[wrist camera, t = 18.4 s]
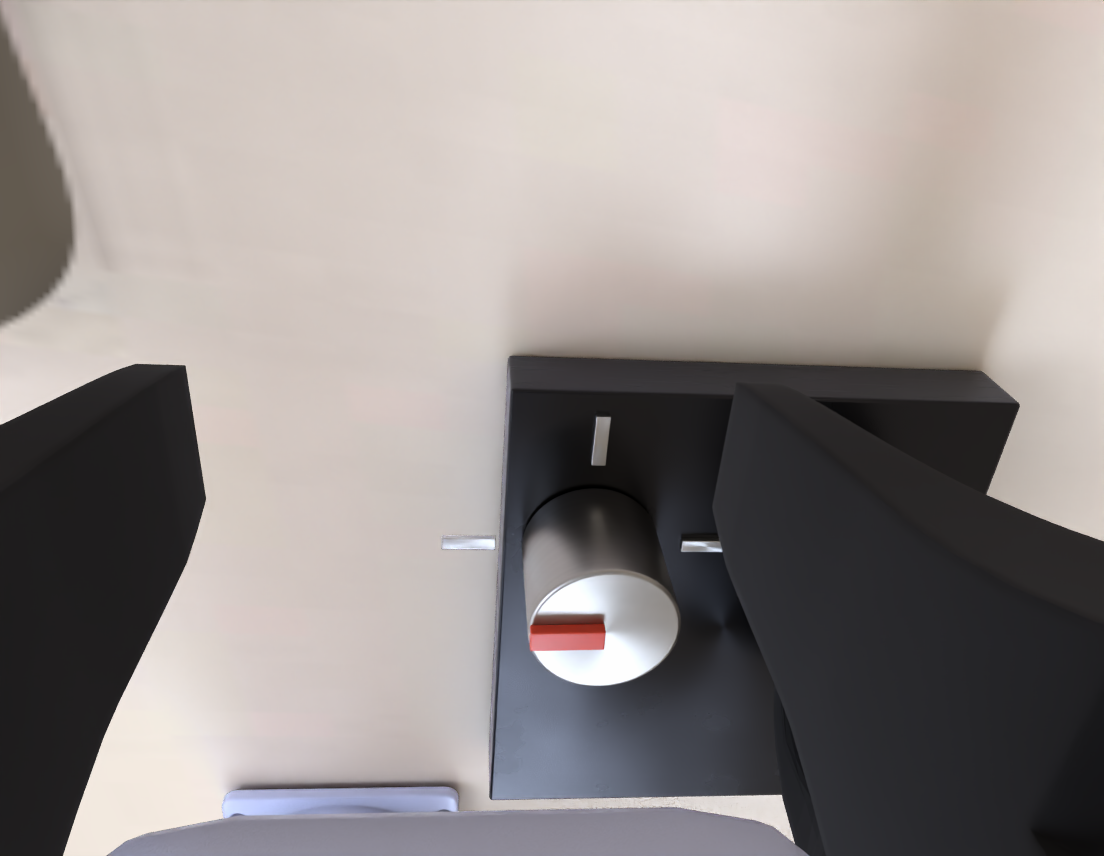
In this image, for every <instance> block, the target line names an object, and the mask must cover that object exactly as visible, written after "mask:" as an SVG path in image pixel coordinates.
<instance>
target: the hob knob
mask: <svg viewBox="0 0 1104 856" xmlns="http://www.w3.org/2000/svg"><path fill="white" fill-rule="evenodd" d="M522 559H523V573H524V588H525V602H526V616H527V631H528V640H529V647H530V651H532V652H533V654H534V656H535V657H536V659H537V660H538V661H539V663H540V664H541V665H542V666H543V667H544V668H545V669H546V670H548V671H549V672H550V673H552V674H553V675H555V676H557V677H559V678H561V679H563V680H565V681H568V682H571V683H575V684H579V685H586V686H610V685H616V684H620V683H624V682H628V681H631V680H633V679H636V678H638V677H640V676H642V675H644V674H646V673H648V672H649V671H651V670H653V669H654V668H655V667H657V666H658V665H659V664H660V663H661V662H662V661H663V660H664V659H665V658H666V657H667V656H668V655H669V653H670V652H671V651H672V649H673V647H674V646H675V644H676V641H677V639H678V636H679V632H680V627H681V616H680V610H679V607H678V603H677V600H676V597H675V593H674V590H673V587H672V583H671V580H670V577H669V573H668V570H667V566H666V563H665V560H664V556H663V553H662V550H661V546H660V543H659V539H658V536H657V533H656V529H655V526H654V523H653V521H652V519H651V517H650V515H649V514H648V513H647V511H646V510H645V509H644V508H643V507H642V506H641V505H640V504H639V503H637V502H636V501H635V500H633V499H632V498H630V497H628V496H626V495H624V494H622V493H619V492H616V491H612V490H607V489H598V488H590V489H581V490H575V491H572V492H568V493H565V494H563V495H560V496H558V497H556V498H554V499H553V500H551V501H549V502H548V503H547V504H545V505H544V506H543V507H542V508H541V509H539V510H538V511H537V513H536V514H535V515H534V516H533V517H532V519H531V520H530V522H529V524H528V525H527V527H526V530H525V532H524V536H523V540H522Z"/></svg>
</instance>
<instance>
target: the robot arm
mask: <svg viewBox="0 0 1104 856" xmlns="http://www.w3.org/2000/svg"><path fill="white" fill-rule="evenodd" d="M205 501H206V496H205V490H204V483H203V477H202V470H201V464H200V457H199V451H198V444H197V438H196V431H195V425H194V418H193V412H192V405H191V399H190V392H189V386H188V379H187V373H186V366H185V365H151V364H134V365H131V366H128V367H125V368H122V369H119V370H116V371H114V372H112V373H109V374H107V375H105V376H102V377H100V378H98V379H96V380H94V381H91V382H89V383H87V384H85V385H83V386H81V387H79V388H77V389H75V390H73V391H70V392H68V393H66V394H64V395H62V396H60V397H58V398H56V399H54V400H52V401H50V402H48V403H46V404H44V405H41V406H39V407H37V408H35V409H33V410H31V411H29V412H27V413H25V414H23V415H21V416H19V417H17V418H15V419H12V420H10V421H8V422H6V423H4V424H2V425H0V856H63V853H64V850H65V847H66V844H67V841H68V838H69V835H70V832H71V829H72V826H73V823H74V820H75V817H76V814H77V811H78V808H79V805H80V802H81V799H82V797H83V794H84V791H85V788H86V785H87V782H88V780H89V777H90V774H91V771H92V768H93V766H94V763H95V760H96V757H97V754H98V752H99V749H100V746H101V743H102V740H103V738H104V735H105V733H106V731H107V728H108V726H109V724H110V721H111V719H112V717H113V714H114V712H115V710H116V707H117V705H118V703H119V701H120V699H121V697H122V695H123V693H124V691H125V689H126V687H127V685H128V683H129V681H130V679H131V677H132V674H133V672H134V670H135V668H136V666H137V664H138V662H139V660H140V658H141V656H142V654H143V652H144V650H145V648H146V646H147V644H148V642H149V640H150V638H151V636H152V634H153V632H154V630H155V628H156V626H157V624H158V622H159V620H160V618H161V616H162V614H163V612H164V609H165V607H166V605H167V603H168V601H169V599H170V597H171V595H172V593H173V591H174V589H175V587H176V584H177V582H178V580H179V578H180V576H181V574H182V572H183V570H184V567H185V565H186V563H187V560H188V557H189V554H190V551H191V548H192V545H193V542H194V539H195V536H196V533H197V529H198V526H199V522H200V519H201V515H202V512H203V508H204V505H205ZM712 509H713V514H714V518H715V523H716V527H717V532H718V536H719V540H720V544H721V548H722V552H723V556H724V560H725V564H726V567H727V570H728V572H729V575H730V578H731V580H732V583H733V585H734V588H735V590H736V593H737V595H738V598H739V600H740V603H741V605H742V607H743V610H744V612H745V615H746V617H747V620H748V622H749V624H750V627H751V629H752V632H753V634H754V637H755V639H756V641H757V644H758V646H759V649H760V651H761V653H762V656H763V658H764V661H765V663H766V665H767V668H768V670H769V673H770V675H771V677H772V680H773V682H774V685H775V687H776V690H777V692H778V694H779V697H780V699H781V702H782V705H783V708H784V710H785V713H786V716H787V719H788V721H789V724H790V727H791V730H792V733H793V737H794V740H795V744H796V747H797V751H798V754H799V758H800V761H801V765H802V768H803V772H804V775H805V779H806V782H807V786H808V789H809V793H810V796H811V800H812V804H813V808H814V811H815V815H816V819H817V823H818V827H819V831H820V835H821V838H822V842H823V846H824V850H825V854H826V856H1104V541H1101V540H1098V539H1095V538H1092V537H1089V536H1087V535H1084V534H1081V533H1078V532H1075V531H1072V530H1069V529H1067V528H1064V527H1062V526H1059V525H1056V524H1054V523H1051V522H1049V521H1046V520H1043V519H1041V518H1039V517H1036V516H1034V515H1031V514H1029V513H1027V512H1024V511H1022V510H1020V509H1018V508H1015V507H1013V506H1011V505H1008V504H1006V503H1004V502H1001V501H999V500H997V499H994V498H992V497H990V496H988V495H985V494H983V493H981V492H979V491H977V490H975V489H973V488H971V487H968V486H966V485H964V484H962V483H960V482H958V481H956V480H954V479H953V478H951V477H949V476H947V475H945V474H943V473H941V472H939V471H937V470H935V469H933V468H931V467H930V466H928V465H926V464H924V463H922V462H920V461H918V460H916V459H915V458H913V457H911V456H909V455H907V454H906V453H904V452H902V451H900V450H898V449H897V448H895V447H893V446H891V445H890V444H888V443H886V442H885V441H883V440H881V439H879V438H878V437H876V436H874V435H873V434H871V433H869V432H868V431H866V430H864V429H862V428H861V427H859V426H857V425H856V424H854V423H852V422H851V421H849V420H847V419H846V418H844V417H842V416H841V415H839V414H837V413H836V412H834V411H832V410H831V409H829V408H827V407H826V406H824V405H822V404H820V403H819V402H817V401H815V400H813V399H812V398H810V397H808V396H806V395H804V394H803V393H801V392H799V391H797V390H795V389H793V388H790V387H788V386H786V385H783V384H780V383H751V382H736V387H735V392H734V397H733V402H732V407H731V412H730V417H729V423H728V428H727V433H726V438H725V443H724V448H723V453H722V459H721V464H720V469H719V474H718V479H717V484H716V489H715V495H714V500H713V505H712ZM458 799H459V796H458V792H457V791H456V790H455V789H453V788H450V787H384V788H324V789H263V790H234V791H231V792H229V793H227V794H226V795H225V797H224V800H223V804H222V811H223V817H224V819H219V820H214V821H208V822H203V823H198V824H193V825H188V826H183V827H177V828H172V829H167V830H162V831H157V832H151V833H147V834H144V835H141V836H138V837H136V838H133V839H130V840H127V841H126V842H124V843H123V844H122V845H120V846H119V847H118V848H116V849H115V850H114V851H112V852H111V853H110V854H108V855H107V856H809V855H808V854H807V853H805V852H804V851H803V850H802V849H800V848H799V847H798V846H797V845H795V844H794V843H793V842H792V841H790V840H789V839H788V838H787V837H785V836H784V835H783V834H782V833H780V832H779V831H778V830H777V829H775V828H774V827H773V826H770V825H767V824H764V823H761V822H758V821H755V820H749V819H743V818H737V817H731V816H725V815H719V814H713V813H707V812H701V811H695V810H689V809H683V808H677V807H661V808H609V809H558V810H506V811H458Z"/></svg>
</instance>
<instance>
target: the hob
mask: <svg viewBox="0 0 1104 856" xmlns="http://www.w3.org/2000/svg"><path fill="white" fill-rule="evenodd" d="M736 382H751V383H780V384H783V385H786V386H788V387H790V388H793V389H795V390H797V391H799V392H801V393H803V394H804V395H806V396H808V397H810V398H812V399H813V400H815V401H817V402H819V403H820V404H822V405H824V406H826V407H827V408H829V409H831V410H832V411H834V412H836V413H837V414H839V415H841V416H842V417H844V418H846V419H847V420H849V421H851V422H852V423H854V424H856V425H857V426H859V427H861V428H862V429H864V430H866V431H868V432H869V433H871V434H873V435H874V436H876V437H878V438H879V439H881V440H883V441H885V442H886V443H888V444H890V445H891V446H893V447H895V448H897V449H898V450H900V451H902V452H904V453H906V454H907V455H909V456H911V457H913V458H915V459H916V460H918V461H920V462H922V463H924V464H926V465H928V466H930V467H931V468H933V469H935V470H937V471H939V472H941V473H943V474H945V475H947V476H949V477H951V478H953V479H954V480H956V481H958V482H960V483H962V484H964V485H966V486H968V487H971V488H973V489H975V490H977V491H979V492H981V493H983V494H985V495H986V494H987V491H988V489H989V486H990V483H991V481H992V478H993V475H994V473H995V470H996V467H997V465H998V462H999V460H1000V457H1001V454H1002V452H1003V449H1004V446H1005V444H1006V441H1007V439H1008V436H1009V433H1010V431H1011V428H1012V425H1013V423H1014V420H1015V418H1016V415H1017V412H1018V410H1019V407H1020V405H1019V403H1018V402H1017V401H1016V400H1015V399H1014V398H1012V397H1011V396H1010V395H1009V394H1008V393H1007V392H1005V391H1004V390H1003V389H1002V388H1001V387H1000V386H999V385H997V384H996V383H995V382H994V381H993V380H992V379H990V378H989V377H988V376H987V375H986V374H985V373H984V372H982V371H964V370H933V369H902V368H871V367H840V366H809V365H778V364H747V363H716V362H685V361H654V360H623V359H592V358H561V357H530V356H510V357H509V358H508V370H507V390H506V411H505V431H504V452H503V473H502V493H501V514H500V534H499V555H498V575H497V596H496V617H495V637H494V658H493V678H492V699H491V720H490V740H489V797H490V799H491V800H520V799H575V798H630V797H685V796H741V795H782V790H781V784H780V777H779V770H778V763H777V757H776V748H775V732H774V682H773V680H772V677H771V675H770V673H769V670H768V668H767V665H766V663H765V661H764V658H763V656H762V653H761V651H760V649H759V646H758V644H757V641H756V639H755V637H754V634H753V632H752V629H751V627H750V624H749V622H748V620H747V617H746V615H745V612H744V610H743V607H742V605H741V603H740V600H739V598H738V595H737V593H736V590H735V588H734V585H733V583H732V580H731V578H730V575H729V572H728V570H727V567H726V564H725V560H724V556H723V552H722V548H721V544H720V540H719V536H718V532H717V527H716V523H715V518H714V514H713V509H712V505H713V500H714V495H715V489H716V484H717V479H718V474H719V469H720V464H721V459H722V453H723V448H724V443H725V438H726V433H727V428H728V423H729V417H730V412H731V407H732V402H733V397H734V392H735V387H736ZM590 488H598V489H607V490H612V491H616V492H619V493H622V494H624V495H626V496H628V497H630V498H632V499H633V500H635V501H636V502H637V503H639V504H640V505H641V506H642V507H643V508H644V509H645V510H646V511H647V513H648V514H649V515H650V517H651V519H652V521H653V523H654V526H655V529H656V533H657V536H658V539H659V543H660V546H661V550H662V553H663V556H664V560H665V563H666V566H667V570H668V573H669V577H670V580H671V583H672V587H673V590H674V593H675V597H676V600H677V603H678V607H679V610H680V616H681V627H680V632H679V636H678V639H677V641H676V644H675V646H674V647H673V649H672V651H671V652H670V653H669V655H668V656H667V657H666V658H665V659H664V660H663V661H662V662H661V663H660V664H659V665H658V666H657V667H655V668H654V669H653V670H651V671H649V672H648V673H646V674H644V675H642V676H640V677H638V678H636V679H633V680H631V681H628V682H624V683H620V684H616V685H610V686H586V685H579V684H575V683H571V682H568V681H565V680H563V679H561V678H559V677H557V676H555V675H553V674H552V673H550V672H549V671H548V670H546V669H545V668H544V667H543V666H542V665H541V664H540V663H539V661H538V660H537V659H536V657H535V656H534V654H533V652H532V651H530V647H529V640H528V631H527V616H526V602H525V588H524V573H523V559H522V540H523V536H524V532H525V530H526V527H527V525H528V524H529V522H530V520H531V519H532V517H533V516H534V515H535V514H536V513H537V511H538V510H539V509H541V508H542V507H543V506H544V505H545V504H547V503H548V502H549V501H551V500H553V499H554V498H556V497H558V496H560V495H563V494H565V493H568V492H572V491H575V490H581V489H590ZM442 549H472V550H495V536H479V535H442Z"/></svg>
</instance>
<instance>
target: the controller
mask: <svg viewBox="0 0 1104 856" xmlns="http://www.w3.org/2000/svg"><path fill="white" fill-rule="evenodd" d="M774 732H775V748H776V757H777V763H778V770H779V777H780V784H781V790H782V797H783V801H784V805H785V809H786V812H787V816H788V820H789V823H790V827H791V831H792V834H793V838H794V842H795V845H797V846H798V847H799V848H800V849H802V850H803V851H804V852H805V853H807V854H808V855H809V856H826V854H825V850H824V846H823V842H822V838H821V835H820V831H819V827H818V823H817V819H816V815H815V811H814V808H813V804H812V800H811V796H810V793H809V789H808V786H807V782H806V779H805V775H804V772H803V768H802V765H801V761H800V758H799V754H798V751H797V747H796V744H795V740H794V737H793V733H792V730H791V727H790V724H789V721H788V719H787V716H786V713H785V710H784V708H783V705H782V702H781V699H780V697H779V694H778V692H777V690H776V687H775V685H774Z"/></svg>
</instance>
